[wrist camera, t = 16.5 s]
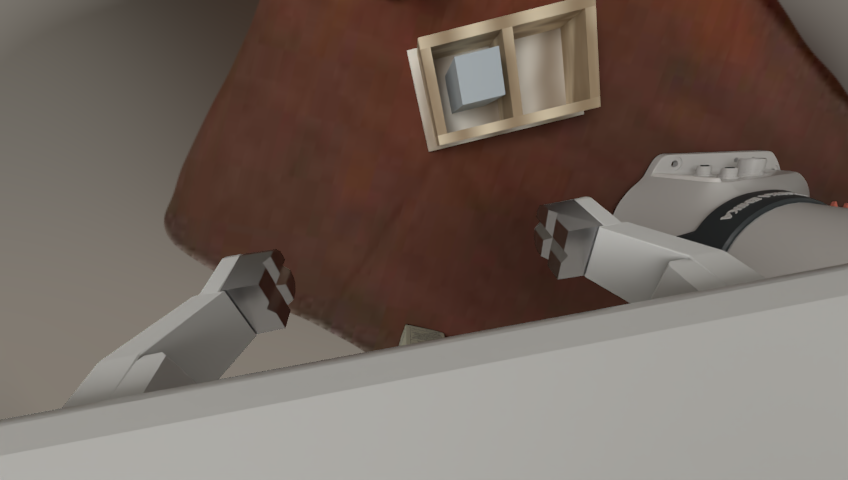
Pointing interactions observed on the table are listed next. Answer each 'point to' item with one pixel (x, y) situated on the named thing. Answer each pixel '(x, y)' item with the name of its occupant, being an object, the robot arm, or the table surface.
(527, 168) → the table surface
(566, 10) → the wooden divided tray
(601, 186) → the table surface
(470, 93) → the grey peg
